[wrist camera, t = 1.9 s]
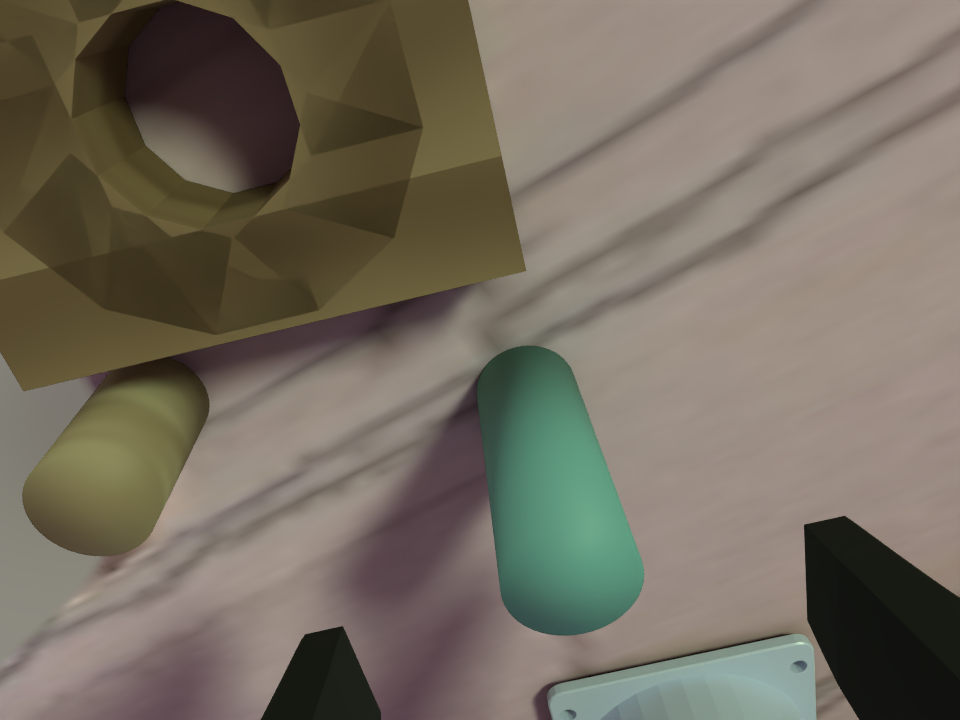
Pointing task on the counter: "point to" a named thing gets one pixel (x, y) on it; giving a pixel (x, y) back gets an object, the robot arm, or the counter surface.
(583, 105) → the counter surface
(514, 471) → the long dowel
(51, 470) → the short dowel
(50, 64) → the board
